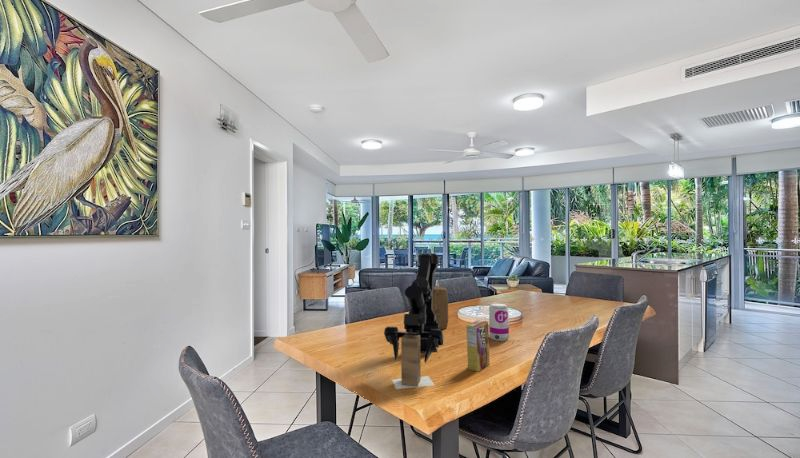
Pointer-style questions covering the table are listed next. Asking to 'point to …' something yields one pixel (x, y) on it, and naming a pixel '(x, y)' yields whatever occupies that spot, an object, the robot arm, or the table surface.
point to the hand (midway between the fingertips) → (410, 360)
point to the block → (440, 306)
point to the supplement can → (498, 322)
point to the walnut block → (410, 360)
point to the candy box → (478, 345)
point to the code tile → (423, 382)
